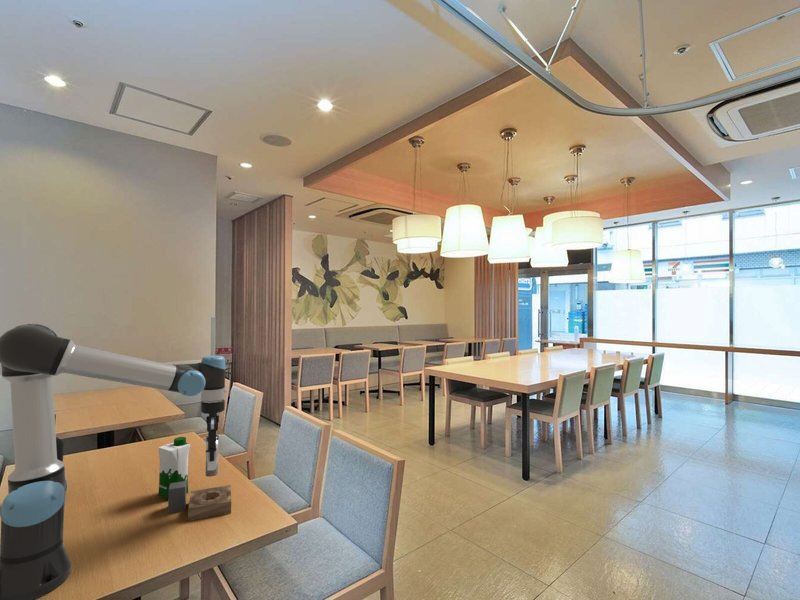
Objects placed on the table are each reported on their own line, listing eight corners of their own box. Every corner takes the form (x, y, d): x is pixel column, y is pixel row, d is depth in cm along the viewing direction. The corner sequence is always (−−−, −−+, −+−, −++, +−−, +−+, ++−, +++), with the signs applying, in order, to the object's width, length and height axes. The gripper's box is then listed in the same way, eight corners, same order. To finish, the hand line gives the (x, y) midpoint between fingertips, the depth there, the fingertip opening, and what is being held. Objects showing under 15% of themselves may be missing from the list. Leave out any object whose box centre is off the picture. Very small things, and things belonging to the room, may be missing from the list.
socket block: (231, 512, 134) (231, 501, 134) (187, 520, 128) (188, 508, 128) (230, 495, 146) (230, 484, 146) (190, 502, 140) (190, 491, 140)
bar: (184, 510, 135) (185, 486, 135) (167, 513, 133) (168, 489, 133) (185, 503, 140) (186, 480, 140) (169, 506, 138) (170, 483, 138)
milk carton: (192, 491, 148) (193, 438, 148) (168, 502, 140) (169, 446, 140) (177, 486, 152) (178, 434, 152) (153, 496, 144) (155, 441, 144)
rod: (218, 475, 136) (218, 437, 136) (205, 477, 135) (206, 439, 135) (218, 470, 140) (218, 434, 140) (205, 472, 138) (206, 435, 138)
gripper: (225, 405, 131) (223, 475, 131) (224, 394, 147) (223, 456, 147) (199, 407, 128) (198, 479, 128) (202, 395, 144) (200, 459, 143)
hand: (211, 467), depth 137 cm, fingers closed on rod, 4 cm apart
